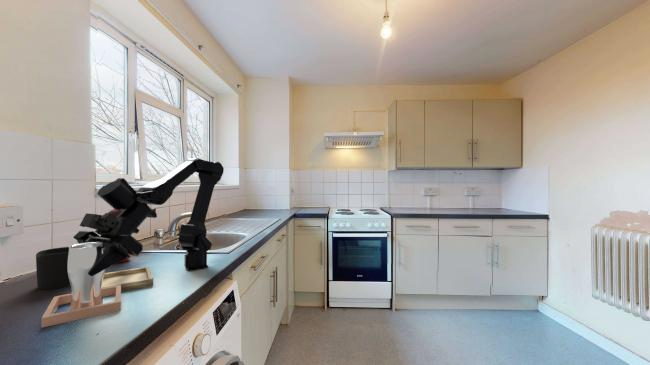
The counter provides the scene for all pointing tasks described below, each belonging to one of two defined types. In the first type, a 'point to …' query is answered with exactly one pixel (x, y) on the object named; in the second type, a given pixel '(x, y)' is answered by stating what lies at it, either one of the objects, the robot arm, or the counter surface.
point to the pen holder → (52, 268)
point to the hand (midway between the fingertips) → (80, 273)
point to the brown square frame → (67, 316)
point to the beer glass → (85, 274)
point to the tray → (129, 278)
